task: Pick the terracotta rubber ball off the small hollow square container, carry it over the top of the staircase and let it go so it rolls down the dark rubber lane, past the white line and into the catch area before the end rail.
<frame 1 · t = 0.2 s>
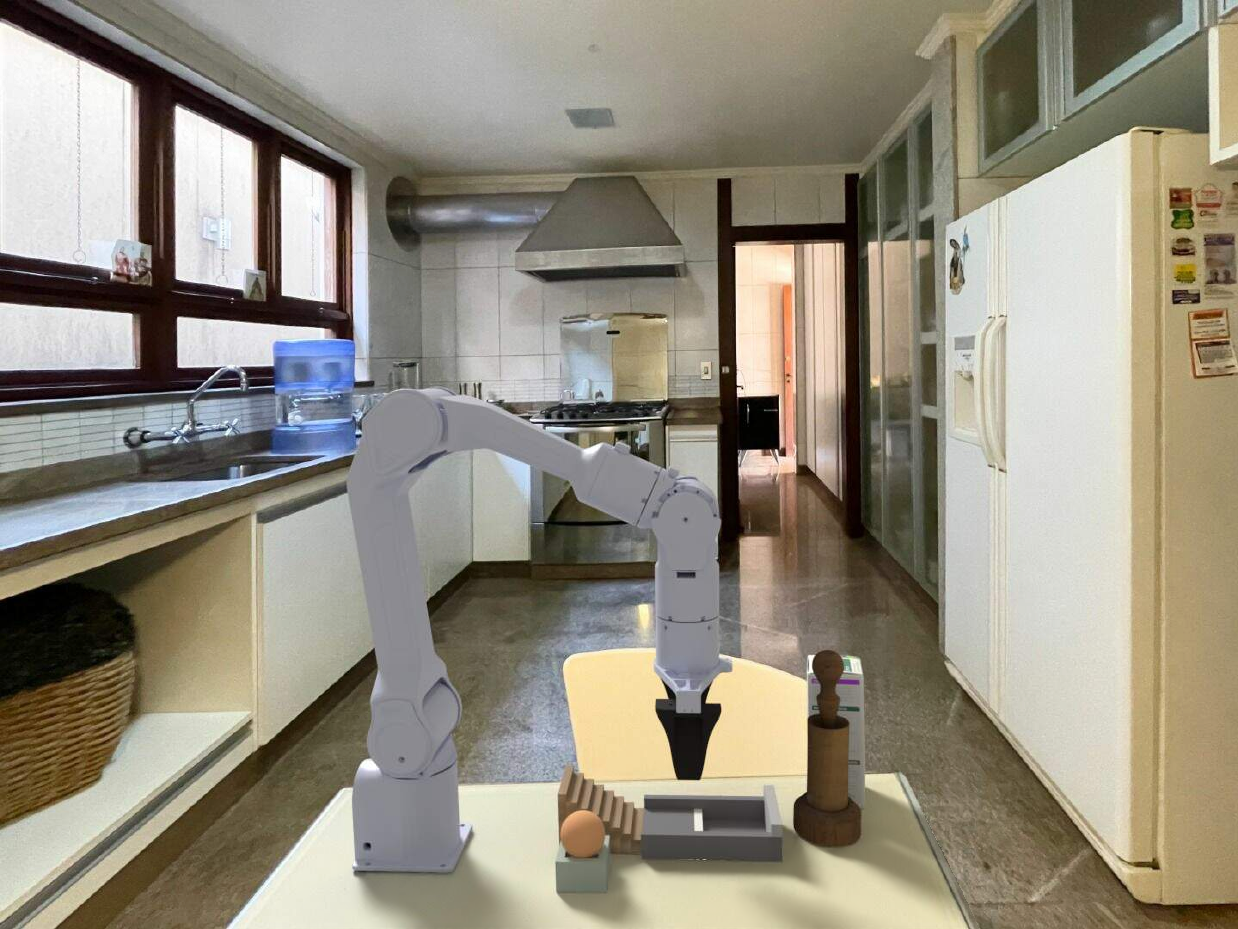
hand: (688, 758, 79), 10 cm above the table, tool pointing down, fingers open, 7 cm apart
hollow square container: (584, 878, 78), on the table
lane: (704, 838, 84), on the table
staircase: (607, 836, 85), on the table
mortar and pestle: (827, 831, 85), on the table
syrup box: (835, 797, 92), on the table
ball: (582, 834, 77), point 4 cm above the table, touching hollow square container
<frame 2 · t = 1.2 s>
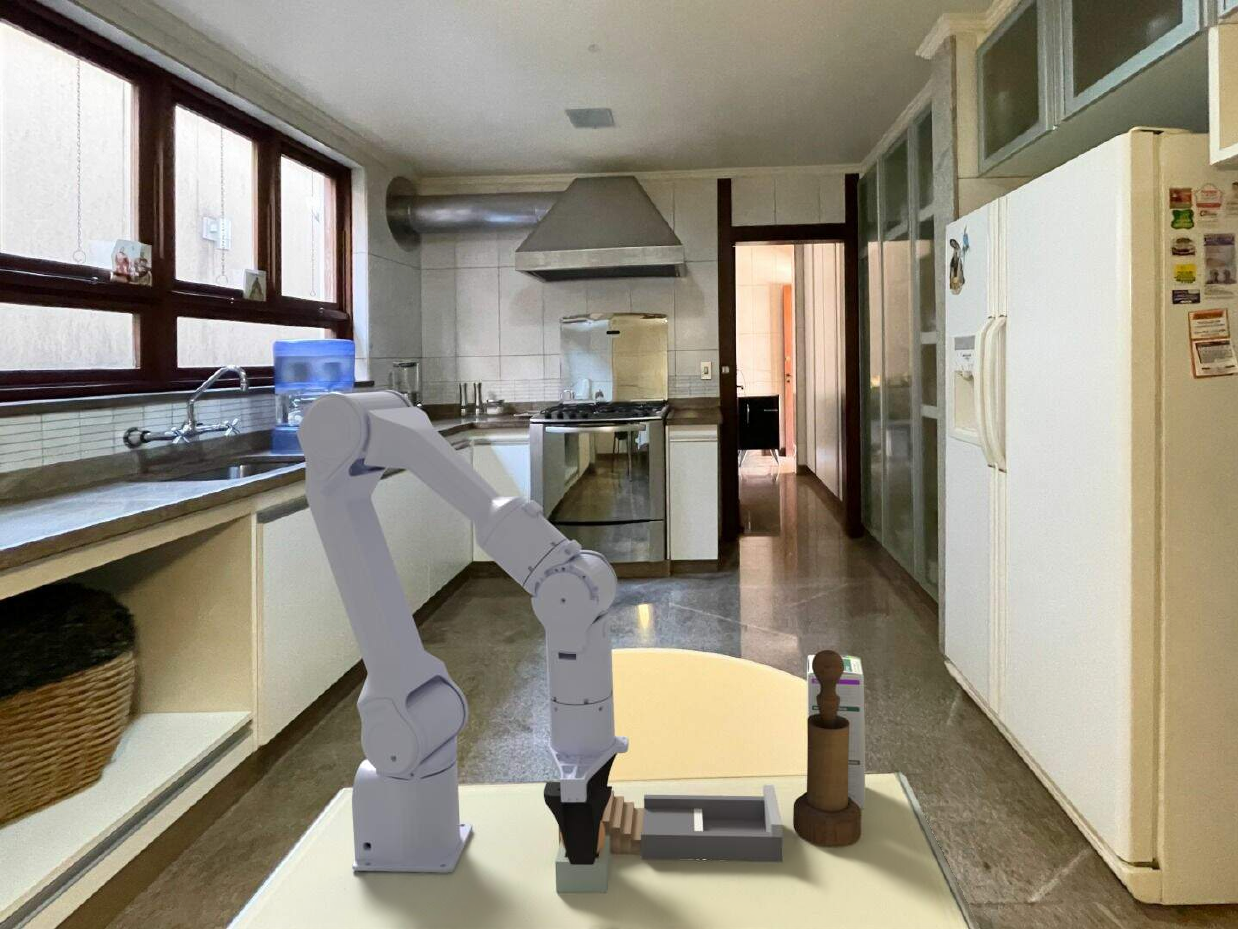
hand: (586, 840, 77), 4 cm above the table, tool pointing down, fingers open, 6 cm apart
nothing on the table moved.
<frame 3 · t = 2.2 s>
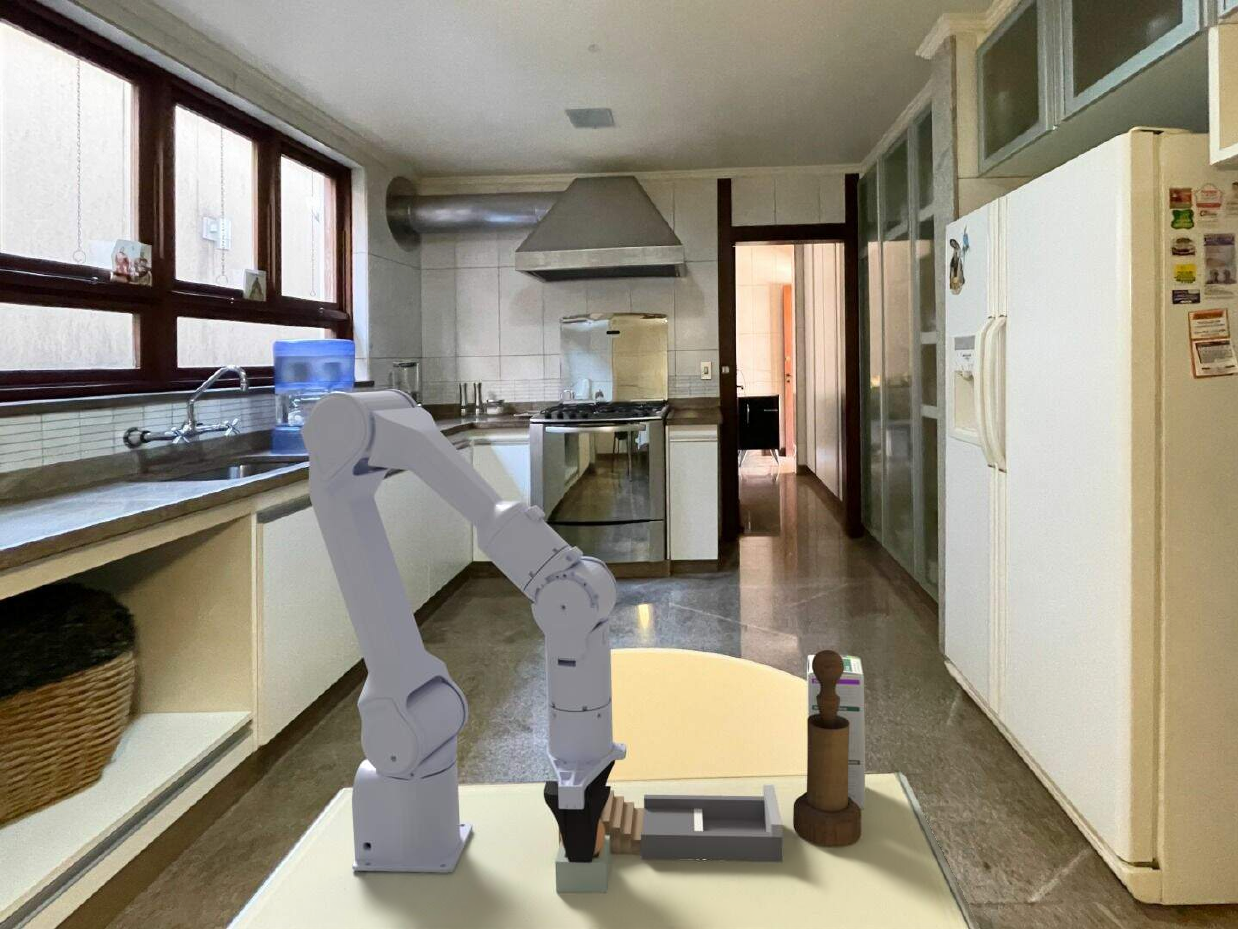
hand: (583, 846, 78), 3 cm above the table, tool pointing down, fingers closed on ball, 4 cm apart
ball: (582, 834, 77), point 4 cm above the table, touching gripper, hollow square container
everything else where it was.
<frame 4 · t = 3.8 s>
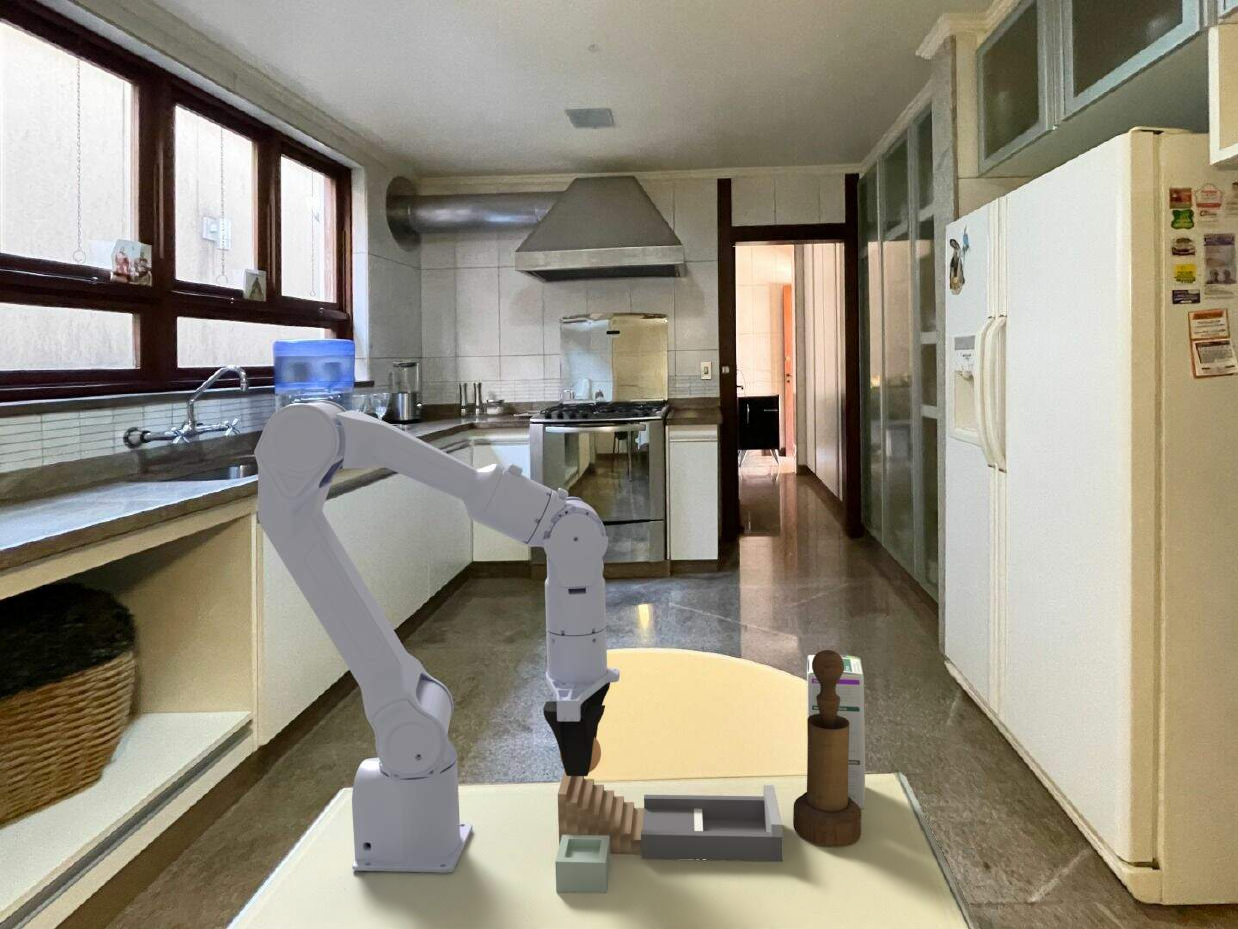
hand: (580, 763, 84), 7 cm above the table, tool pointing down, fingers closed on ball, 4 cm apart
ball: (580, 753, 84), point 8 cm above the table, touching gripper
everything else where it was.
when the fingers open (7 cm above the table, at t = 4.2 s): ball drops 6 cm and tips over, resting on lane.
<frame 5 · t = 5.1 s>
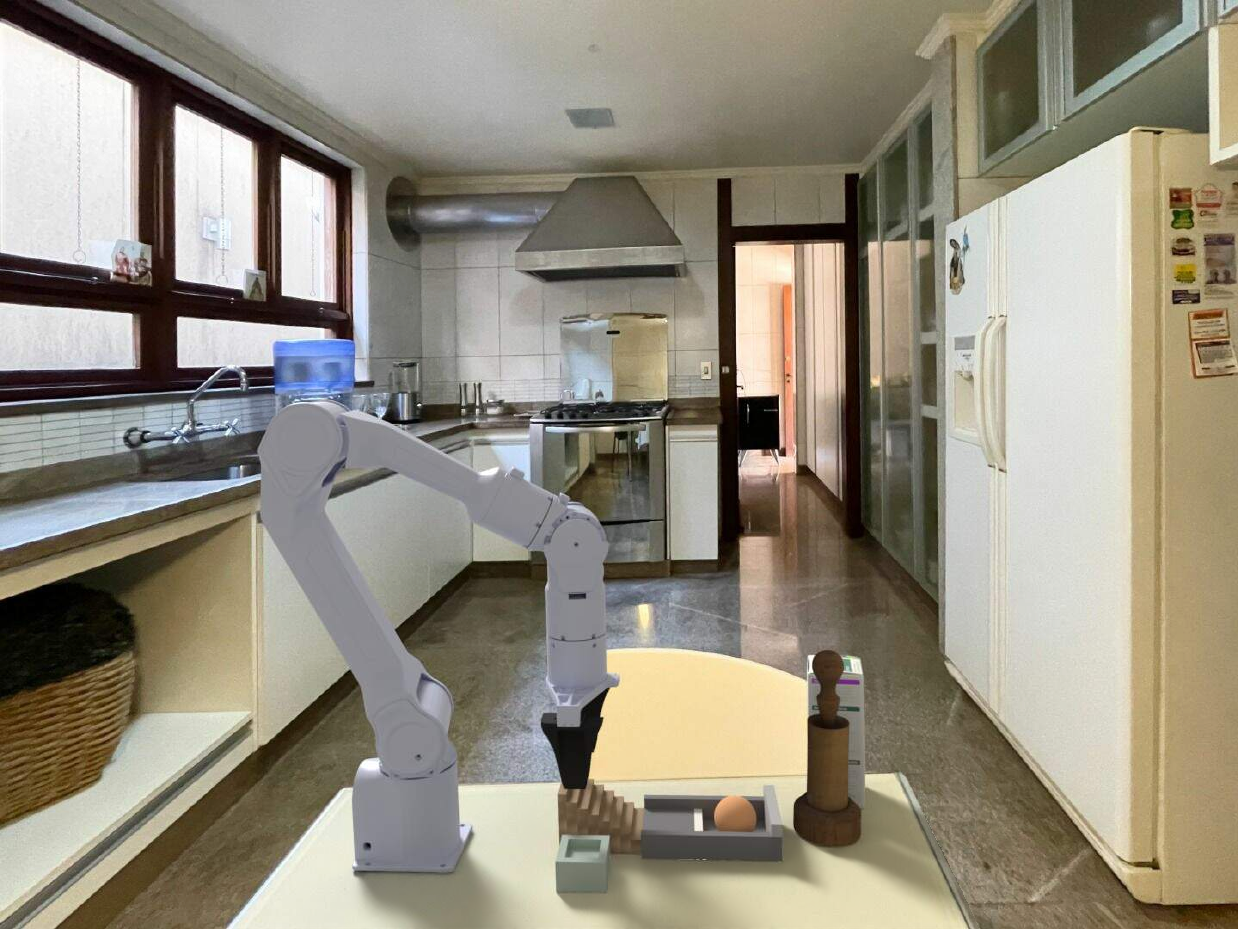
hand: (580, 768, 84), 7 cm above the table, tool pointing down, fingers open, 7 cm apart
ball: (735, 817, 83), point 2 cm above the table, tilted 139°, touching lane
everything else where it was.
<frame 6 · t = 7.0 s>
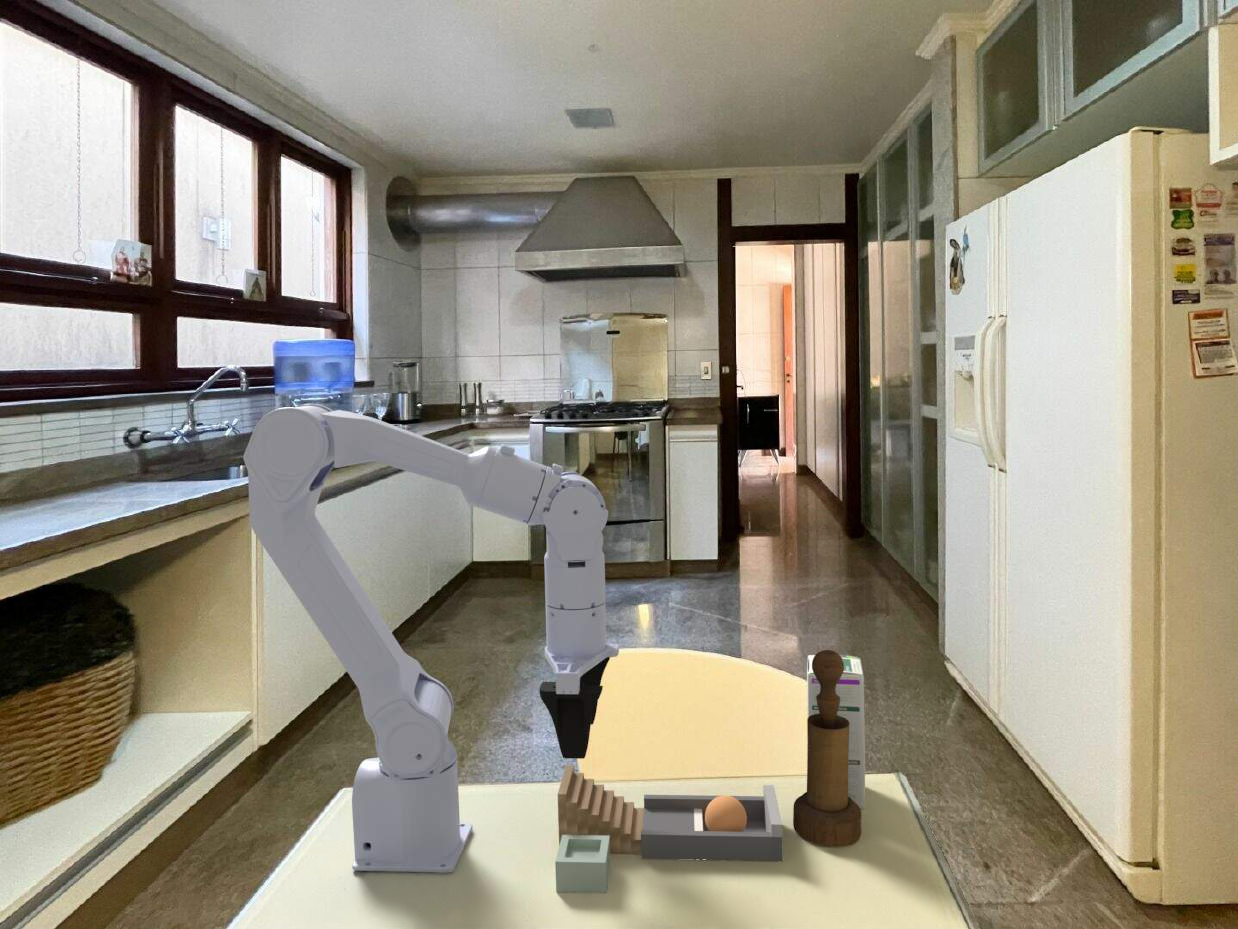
hand: (579, 739, 84), 10 cm above the table, tool pointing down, fingers open, 7 cm apart
ball: (725, 817, 83), point 2 cm above the table, tilted 113°, touching lane
everything else where it was.
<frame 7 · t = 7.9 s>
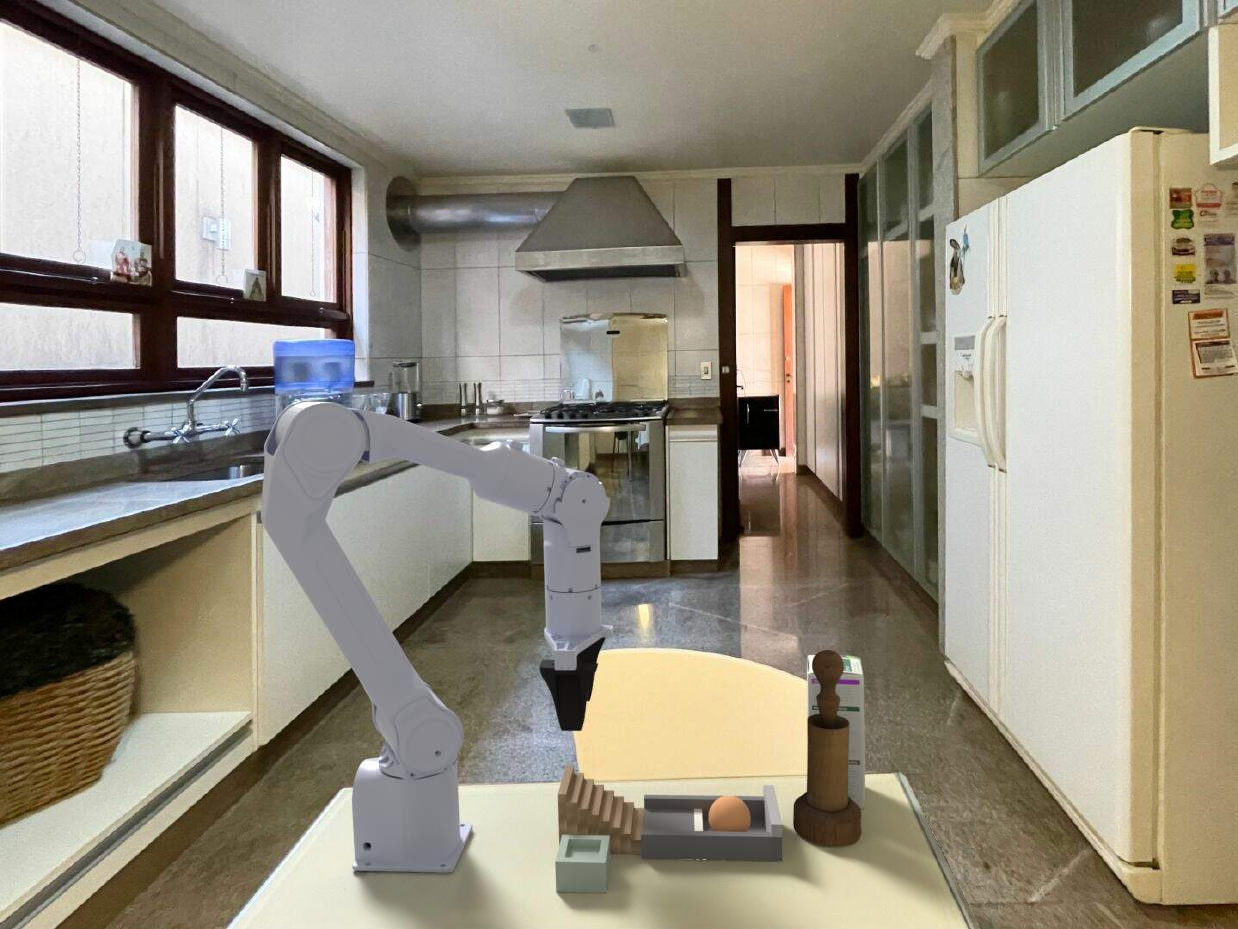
hand: (576, 714, 90), 10 cm above the table, tool pointing down, fingers open, 7 cm apart
ball: (729, 818, 83), point 2 cm above the table, tilted 123°, touching lane
everything else where it was.
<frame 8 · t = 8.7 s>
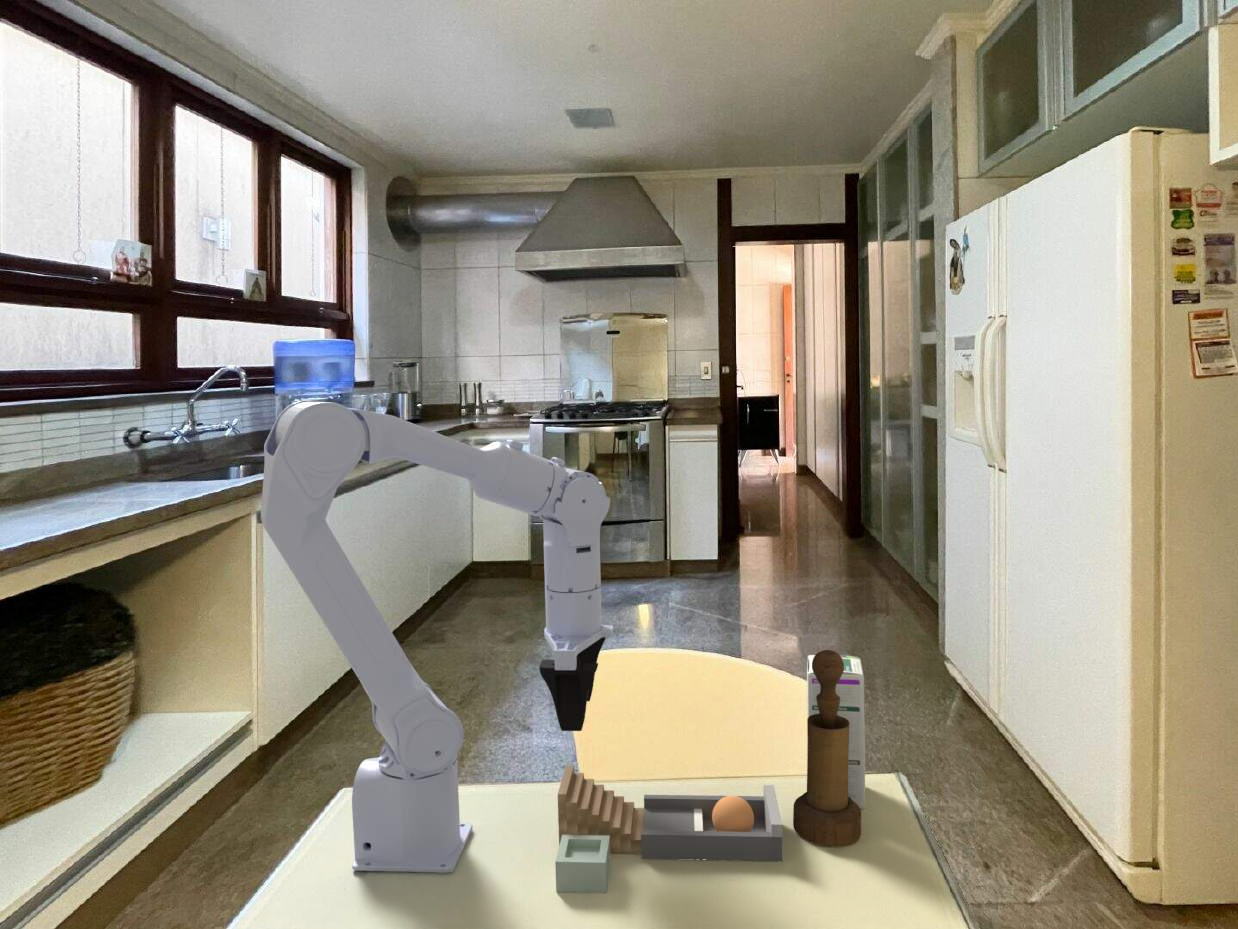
hand: (576, 714, 90), 10 cm above the table, tool pointing down, fingers open, 7 cm apart
ball: (733, 818, 83), point 2 cm above the table, tilted 133°, touching lane
everything else where it was.
at the end: ball inside the target area (1.0 cm from its centre), point 2.3 cm above the table; the gripper is holding nothing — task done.
